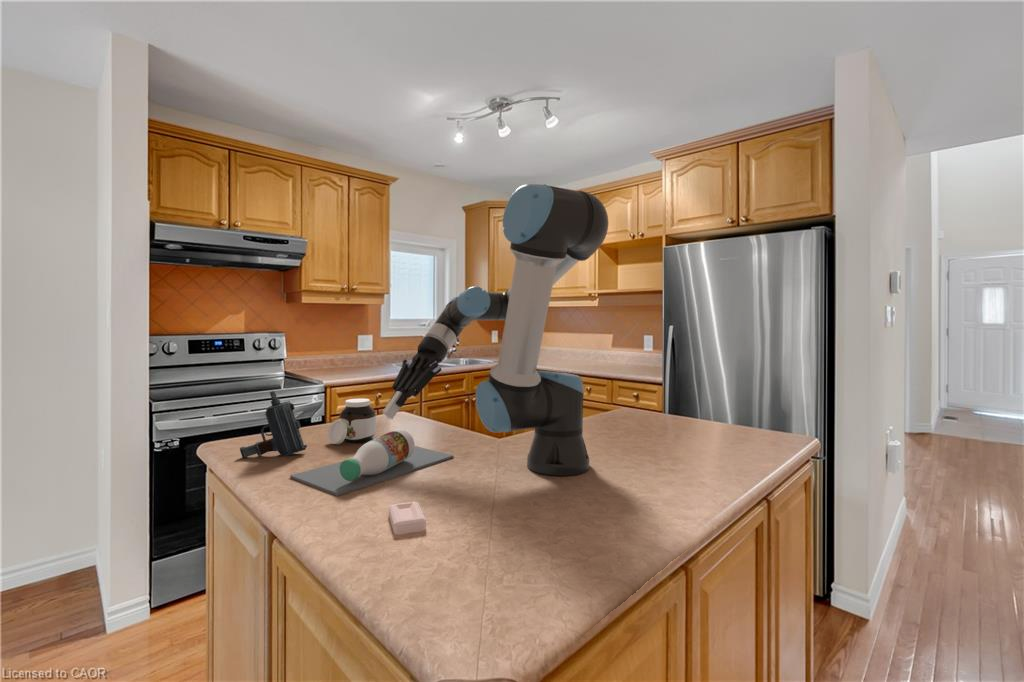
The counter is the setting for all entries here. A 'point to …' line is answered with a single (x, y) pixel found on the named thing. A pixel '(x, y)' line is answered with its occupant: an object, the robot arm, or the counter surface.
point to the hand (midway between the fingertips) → (387, 415)
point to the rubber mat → (337, 485)
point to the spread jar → (354, 423)
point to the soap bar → (407, 518)
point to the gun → (278, 431)
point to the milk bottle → (378, 455)
